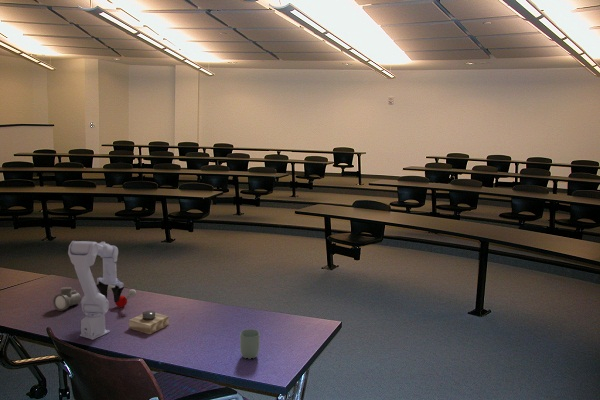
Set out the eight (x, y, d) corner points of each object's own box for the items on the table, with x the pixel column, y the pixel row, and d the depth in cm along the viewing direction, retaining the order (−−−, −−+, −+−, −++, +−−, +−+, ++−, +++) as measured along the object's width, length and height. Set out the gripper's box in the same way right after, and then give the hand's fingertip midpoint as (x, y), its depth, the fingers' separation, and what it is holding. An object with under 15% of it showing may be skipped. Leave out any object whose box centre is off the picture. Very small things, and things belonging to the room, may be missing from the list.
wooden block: (150, 334, 229) (149, 325, 228) (129, 328, 234) (129, 319, 233) (168, 324, 239) (168, 316, 238) (148, 319, 244) (148, 311, 244)
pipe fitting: (65, 311, 249) (65, 290, 249) (52, 310, 252) (52, 289, 252) (84, 306, 260) (84, 285, 260) (71, 305, 263) (71, 284, 263)
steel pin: (149, 329, 233) (149, 316, 232) (140, 326, 235) (139, 313, 234) (157, 324, 238) (157, 312, 237) (148, 322, 240) (148, 309, 239)
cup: (259, 352, 215) (260, 329, 213) (258, 361, 207) (259, 337, 205) (240, 352, 215) (240, 328, 213) (238, 361, 207) (239, 337, 205)
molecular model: (138, 308, 257) (138, 288, 255) (130, 312, 252) (129, 292, 250) (112, 301, 265) (112, 282, 263) (103, 305, 260) (103, 285, 259)
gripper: (128, 271, 239) (129, 300, 241) (105, 266, 246) (105, 294, 248) (116, 275, 233) (117, 305, 235) (92, 270, 239) (93, 299, 242)
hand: (110, 300), depth 241 cm, fingers open, 7 cm apart
